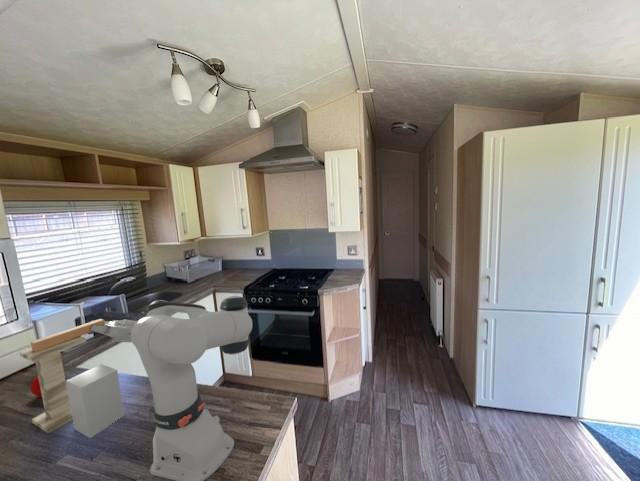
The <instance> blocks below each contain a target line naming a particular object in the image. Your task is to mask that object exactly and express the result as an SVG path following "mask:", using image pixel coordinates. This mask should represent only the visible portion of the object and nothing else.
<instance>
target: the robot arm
mask: <svg viewBox="0 0 640 481" xmlns="http://www.w3.org/2000/svg"><path fill="white" fill-rule="evenodd" d="M248 306H249V305H248V301H247V299H246V298H245V297H244V296H239V295H231V296H228V297H226V298H223V300H222V301H221V302H220V305H219V309H220V311H218V310H217V311H208V310H207V308H206V306H203V305H200V304H197V303H196V304H195V303H189V302H178V301H177V302H175V301H168V300H163V299H161V300H160V299H159V300H154V301H152V302H151V303H150V304H149V305H148V306H147V310H146V316H144V317H141V318H140V319H139V320H131V319H120V320H116V319H115V320H112V321H111V320H110V321H109V320H104V322H105V326H96V325H91V327H90V330H93V332H95V333H99V334H103V335H106V336H108V337H110V338H112V339H113V340H114V341H115V342H117V343H131V344H133V346H134V347H135V349H136V350H137V353H138V355H139V357H140V360H141V362H142V365H143V367H144V370H145V372H146V375H147V377H148V380H149V382H150V383H149V384H150V387H151V393H152V399H153V405H154V408H153V410H152V411H153V415H152V417H153V421H154V424H155V426H156V427H155V431H154V435H153V439H152V457H153V462H152V464H151V465H150V469H149V472H150V475H151V476H156V477H159V478H164V479H168V480H172V481H205V480H207V479H208V478H210V476H212V475H213V474H214V473H215V472H216V471H217V470H218V469H219V468H220V466H222V464H224V462H225V461H226V460H227V458H228V457H230V454H231V453H232V451H233V449H234V446H235V440H234V439H233V438H232V437H231V436H230V435H228V434H227V433H226V432H224V429H223V426H222V425H221V424H220V422H221V419H220V417H219V416H218V415H215V416H213V415H212V413H210V410H209V409H208V408H205V406H206V402H205V401H204V402H203V400H202V396H201V394H200V392H199V391H198V383H197V377H196V371H195V367H194V366H193V365H192V364H193V363H195V362H197V361H199V359H200V358H202V356H203V355H204V353H205V352H206V351H208V350H211V349H215V348H218V347H219V348H220V349H221V351H222V353H223V354H226V355H230V356H231V355H233V356H235V355H238V354H241V353H242V352H245V351H246V350H247V349H248V347H249V341H250V340H249V335H250V334H251V332H252V330H253V319H252V317H251V315H249V310H248ZM174 313H179V314H180V313H182V314H187V316H188V318H179V317H174V316H173V314H174ZM92 321H93V320H91V321H90V322H92Z"/></svg>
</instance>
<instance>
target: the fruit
mask: <svg viewBox="0 0 640 481" xmlns="http://www.w3.org/2000/svg"><path fill="white" fill-rule="evenodd" d="M29 387H30V388H29V389H30V392H31V394H32V395H34V396H35V397H37V398H42V393H41V388H40V383H39V378H38V375H37V376H35V378H33V380H32V381H31V383H30V386H29Z"/></svg>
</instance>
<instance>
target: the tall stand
mask: <svg viewBox="0 0 640 481" xmlns="http://www.w3.org/2000/svg"><path fill="white" fill-rule="evenodd" d="M86 342H87V338H86V337H84V336H79V337H76V338H73V339H71V340H68V341H65V342H62V343H60V344H57V345H54V346H51V347H48V348H46V349H43V350H40V351H37V352H35V351H32V348H31V347H30V348H28V349H24V350H22V351H19V355H20V358H24V359H26V360H27V361H30V362H32V363H34V362H35V368H36V373H37V376H38V378H39V383H40V388H41V393H42V397H41V398H42V404H43V408H44V412H43V413H41V414H38V415H37V416H35V417H33V418H31V422H32V424H34V425H35V426H36V427H38V428H40V429H41V430H43V431H44V432H45V433H46V434H50V433H52V432H54V431H55V430H57V429H59V428H61V427H63V426H65V425H66V424H68V423H69V422H72V421H73V418H72V413H71V407H70V402H69V396H68V391H67V385H66V376H65V375H66V374H65V369H64V364H63V358H62V353H61V352H63V351H66V350H68V349H71V348H73V347H76V346H79V345H82V344H84V343H86Z"/></svg>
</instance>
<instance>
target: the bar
mask: <svg viewBox="0 0 640 481" xmlns="http://www.w3.org/2000/svg"><path fill="white" fill-rule="evenodd" d="M91 321H92V322H91ZM91 321H89V322H87V323H83V324H80V325H77V326H74V327H72V328H68V329H66V330H62V331H60V332H56V333H54V334H50V335H47V336H44V337H41V338H39V339H36V340H32V341H30V348H32V351H35V352H37V351H40V350H43V349H46V348H48V347H51V346H54V345H57V344H60V343H62V342H65V341H68V340H71V339H73V338H76V337H79V336H81V337H83V336H84V335H87V334H89V333H93V332H94V331H93V330H90V327H91V325H96V326H105V322H104V321H105V319H103V318H99V319H95V320H91Z"/></svg>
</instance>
